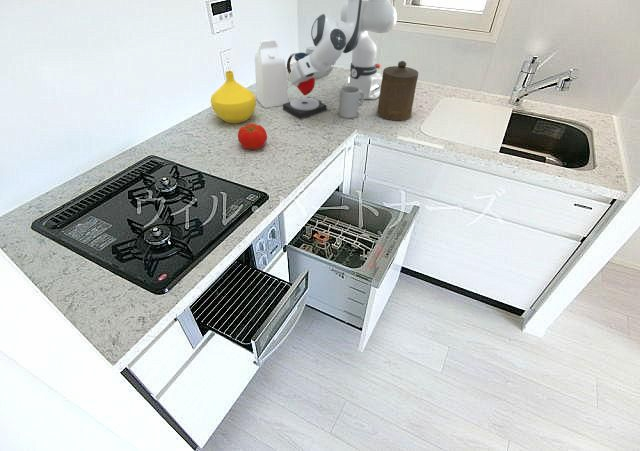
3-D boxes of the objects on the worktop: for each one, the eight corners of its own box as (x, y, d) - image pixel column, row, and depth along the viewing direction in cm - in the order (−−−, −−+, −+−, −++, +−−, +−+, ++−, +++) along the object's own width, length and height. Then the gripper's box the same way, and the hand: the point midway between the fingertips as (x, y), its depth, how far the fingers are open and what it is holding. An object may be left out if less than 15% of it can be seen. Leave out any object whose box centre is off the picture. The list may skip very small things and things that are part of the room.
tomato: (250, 136, 133) (248, 118, 128) (273, 143, 129) (271, 125, 124) (232, 147, 126) (229, 129, 121) (255, 155, 122) (253, 136, 117)
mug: (345, 119, 146) (347, 94, 139) (334, 112, 152) (336, 87, 144) (367, 114, 151) (370, 89, 144) (356, 107, 156) (358, 83, 149)
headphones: (322, 85, 174) (293, 79, 186) (321, 53, 164) (290, 49, 177) (314, 88, 170) (285, 82, 183) (312, 56, 161) (281, 51, 173)
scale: (308, 101, 161) (308, 94, 159) (326, 110, 153) (326, 103, 151) (283, 109, 153) (282, 102, 151) (300, 119, 146) (300, 111, 144)
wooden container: (401, 105, 159) (410, 55, 144) (416, 118, 148) (427, 65, 134) (372, 108, 155) (378, 57, 141) (385, 122, 145) (394, 68, 130)
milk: (280, 95, 166) (276, 36, 148) (288, 103, 158) (286, 42, 141) (256, 98, 162) (250, 38, 144) (264, 108, 154) (258, 45, 137)
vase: (215, 130, 137) (205, 81, 124) (213, 111, 150) (204, 66, 137) (260, 125, 141) (255, 78, 128) (254, 108, 154) (249, 63, 141)
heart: (317, 98, 147) (318, 74, 140) (307, 100, 144) (307, 76, 138) (301, 90, 154) (301, 66, 147) (291, 92, 151) (291, 69, 144)
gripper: (334, 52, 139) (318, 71, 151) (294, 61, 128) (281, 80, 140) (341, 66, 139) (324, 84, 151) (301, 76, 129) (287, 94, 141)
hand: (303, 82), depth 146 cm, fingers closed on heart, 5 cm apart
